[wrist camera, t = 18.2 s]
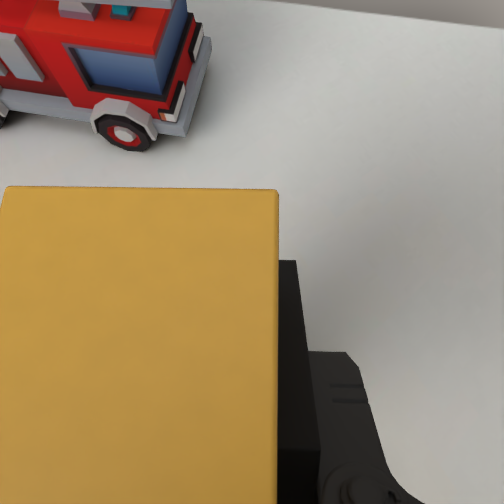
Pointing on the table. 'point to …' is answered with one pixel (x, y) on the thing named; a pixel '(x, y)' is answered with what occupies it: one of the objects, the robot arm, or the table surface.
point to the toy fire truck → (104, 65)
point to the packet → (138, 345)
